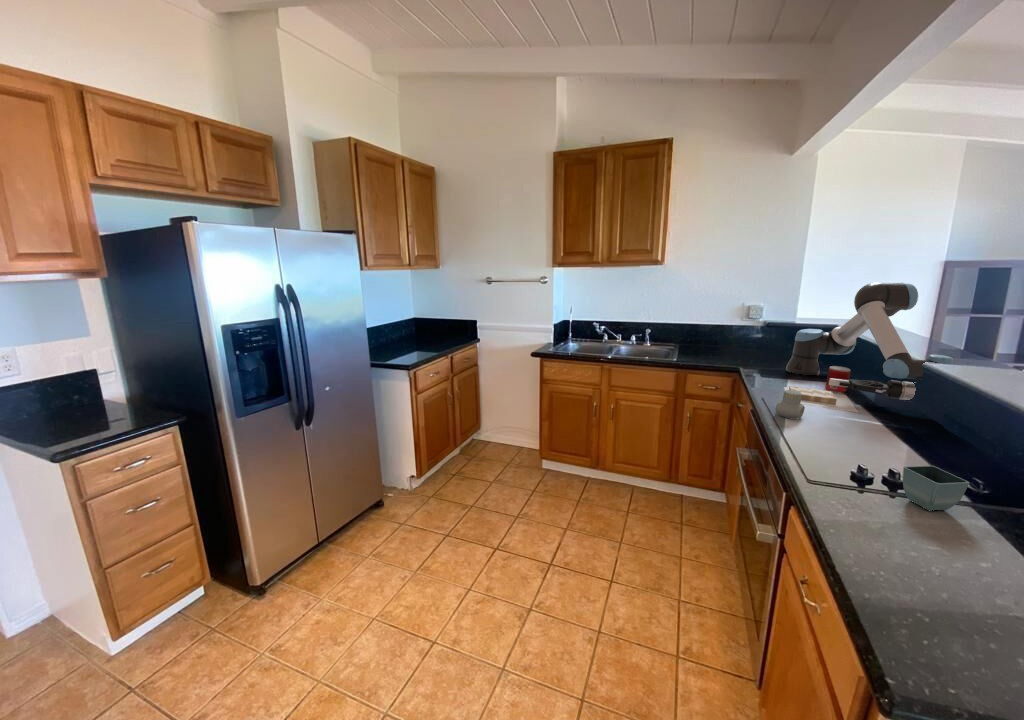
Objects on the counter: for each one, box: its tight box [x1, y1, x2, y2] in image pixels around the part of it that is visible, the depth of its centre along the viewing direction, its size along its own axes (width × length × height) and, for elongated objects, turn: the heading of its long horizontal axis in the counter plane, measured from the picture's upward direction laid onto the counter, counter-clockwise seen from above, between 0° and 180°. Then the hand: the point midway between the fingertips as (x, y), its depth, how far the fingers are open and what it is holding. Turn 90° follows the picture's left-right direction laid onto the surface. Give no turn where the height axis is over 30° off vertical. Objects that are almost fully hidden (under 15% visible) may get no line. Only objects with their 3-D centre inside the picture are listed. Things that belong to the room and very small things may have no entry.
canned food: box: [825, 365, 851, 393], centre depth 200 cm, size 8×8×11 cm
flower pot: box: [902, 465, 970, 512], centre depth 108 cm, size 9×9×9 cm
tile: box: [788, 385, 837, 405], centre depth 189 cm, size 12×2×16 cm
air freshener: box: [774, 390, 805, 420], centre depth 167 cm, size 11×8×10 cm
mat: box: [783, 386, 859, 413], centre depth 188 cm, size 24×24×1 cm
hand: (829, 381), depth 184 cm, fingers closed
